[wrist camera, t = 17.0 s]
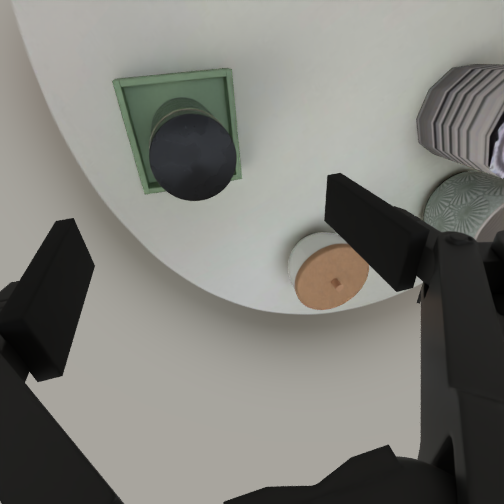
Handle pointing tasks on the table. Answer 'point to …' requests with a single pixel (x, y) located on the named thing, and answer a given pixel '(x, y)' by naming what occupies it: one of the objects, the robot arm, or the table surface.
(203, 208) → the table surface
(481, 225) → the planter
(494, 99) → the can
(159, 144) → the black canister
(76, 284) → the robot arm
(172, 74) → the tray
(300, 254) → the trinket box
